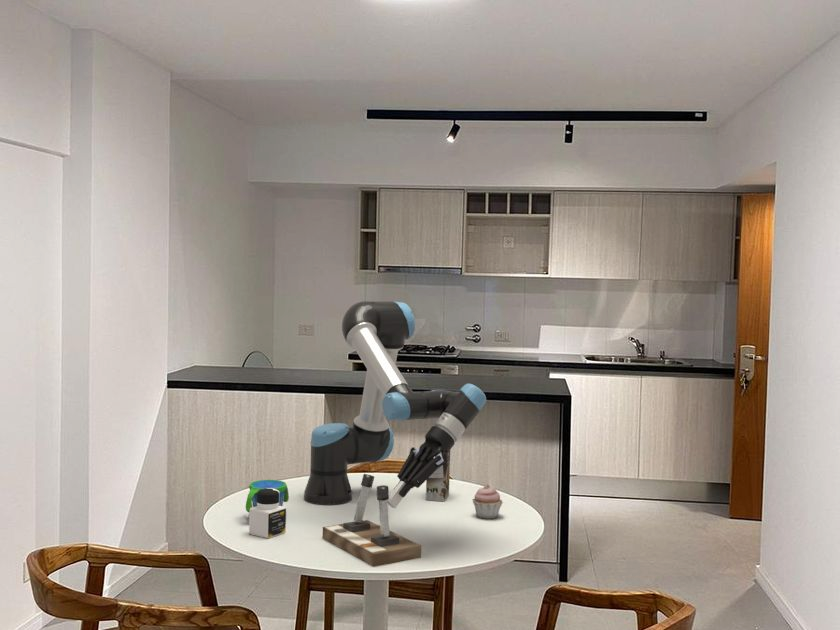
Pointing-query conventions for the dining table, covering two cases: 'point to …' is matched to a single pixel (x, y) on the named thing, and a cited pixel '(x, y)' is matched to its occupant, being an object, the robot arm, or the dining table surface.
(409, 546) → the switch unit
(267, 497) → the medicine bottle
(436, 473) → the coffee box
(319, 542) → the dining table surface
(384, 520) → the lever
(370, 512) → the dining table surface
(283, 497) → the snack cup
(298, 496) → the dining table surface
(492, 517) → the cupcake
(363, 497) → the lever
